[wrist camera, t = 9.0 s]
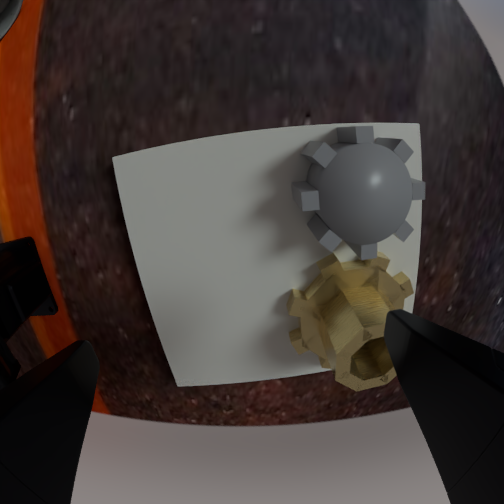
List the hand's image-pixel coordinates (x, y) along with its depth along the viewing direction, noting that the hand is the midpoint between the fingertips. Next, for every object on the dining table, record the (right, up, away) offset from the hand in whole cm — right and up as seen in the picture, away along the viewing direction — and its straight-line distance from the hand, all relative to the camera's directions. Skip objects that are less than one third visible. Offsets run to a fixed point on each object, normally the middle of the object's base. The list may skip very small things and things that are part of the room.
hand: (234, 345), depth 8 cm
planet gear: (+7, -1, +11) cm, 13 cm away
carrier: (+3, +2, +12) cm, 12 cm away
